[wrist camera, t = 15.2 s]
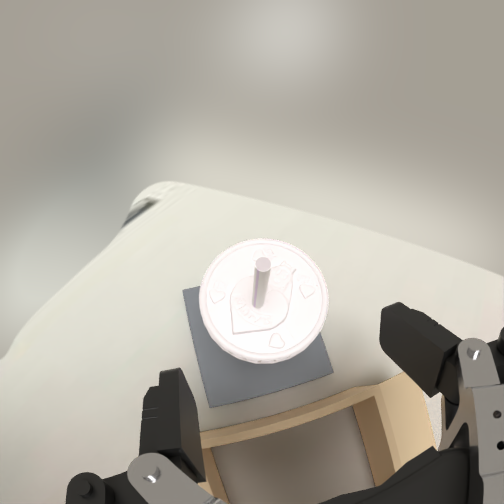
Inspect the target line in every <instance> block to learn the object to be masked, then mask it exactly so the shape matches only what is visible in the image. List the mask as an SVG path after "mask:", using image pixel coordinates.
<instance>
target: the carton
mask: <svg viewBox="0 0 504 504" xmlns="http://www.w3.org/2000/svg"><path fill="white" fill-rule="evenodd" d="M351 405H352V406H353V409H354V412H355V415H356V419H357V422H358V425H359V429H360V432H361V436H362V439H363V443H364V446H365V450H366V453H367V457H368V460H369V464H370V468H371V471H372V475H373V479H374V483H375V487H377V486H380V485H381V484H383V483H384V482H385V481H386V480H387V479H389V478H390V477H391V476H392V475H393V474H394V473H395V472H397V471H398V470H399V469H400V468H401V467H402V466H403V465H404V464H405V463H406V462H408V461H409V460H411V459H413V458H414V457H416V456H418V455H419V454H421V453H422V452H424V451H425V450H427V449H428V448H430V447H431V446H433V447H434V448H435V449H436V444H435V439H434V435H433V431H432V426H431V422H430V418H429V414H428V411H427V407H426V403H425V400H424V396H423V393H422V389H421V388H420V387H419V386H418V385H417V384H416V383H415V382H414V381H413V380H412V379H411V378H410V377H409V376H408V375H407V374H406V373H405V372H402V373H400V374H398V375H396V376H394V377H392V378H390V379H388V380H386V381H384V382H381V383H379V384H377V385H369V386H359V387H353V388H350V389H348V390H345V391H343V392H340V393H338V394H335V395H333V396H330V397H327V398H325V399H322V400H319V401H316V402H313V403H311V404H308V405H305V406H302V407H299V408H296V409H292V410H289V411H286V412H283V413H279V414H276V415H272V416H269V417H265V418H262V419H258V420H254V421H250V422H246V423H242V424H238V425H233V426H229V427H224V428H219V429H214V430H209V431H204V432H200V439H201V446H202V454H203V461H204V468H205V474H206V481H207V482H202V483H198V485H199V486H200V487H201V488H203V489H204V490H205V491H207V492H208V493H209V494H211V495H212V496H214V497H215V498H219V499H221V500H222V501H224V502H225V503H227V504H230V503H229V500H228V497H227V495H226V492H225V489H224V487H223V484H222V481H221V478H220V475H219V472H218V469H217V466H216V463H215V460H214V457H213V454H212V451H211V448H210V447H216V446H221V445H226V444H231V443H235V442H240V441H244V440H248V439H252V438H256V437H260V436H264V435H268V434H271V433H275V432H278V431H282V430H285V429H288V428H292V427H295V426H298V425H301V424H304V423H307V422H310V421H313V420H315V419H318V418H321V417H324V416H326V415H329V414H332V413H334V412H337V411H339V410H342V409H344V408H347V407H349V406H351ZM436 450H437V449H436Z"/></svg>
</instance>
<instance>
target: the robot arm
mask: <svg viewBox="0 0 504 504" xmlns="http://www.w3.org/2000/svg"><path fill="white" fill-rule="evenodd" d="M379 340H380V345H381V348H382V349H383V351H384V352H385V353H386V354H387V355H388V356H389V357H390V358H391V359H392V360H393V361H394V362H395V363H396V364H397V365H398V366H399V367H400V368H401V369H402V370H403V371H404V372H405V373H406V374H407V375H408V376H409V377H410V378H411V379H412V380H413V381H414V382H415V383H416V384H417V385H418V386H419V387H420V388H421V389H422V390H423V391H424V392H425V393H426V394H427V395H428V396H429V397H430V398H431V397H433V396H434V395H436V394H437V393H439V392H441V393H442V394H443V395H442V398H441V416H442V436H441V442H440V445H439V448H438V451H437V450H436V449H435V448H434V447H433V446H431V447H430V448H428V449H427V450H425V451H424V452H422V453H421V454H419V455H418V456H416V457H414V458H413V459H411V460H409V461H408V462H406V463H405V464H404V465H403V466H402V467H401V468H400V469H399V470H398V471H397V472H395V473H394V474H393V475H392V476H391V477H390V478H389V479H387V480H386V481H385V482H384V483H383V484H381V485H380V486H377V487H374V488H370V489H366V490H362V491H358V492H353V493H348V494H343V495H340V496H338V497H335V498H332V499H330V500H327V501H325V502H322V503H319V504H504V328H502V330H501V332H500V335H499V338H498V340H495V341H492V342H489V343H485V342H484V341H482V340H480V339H477V338H468V339H465V340H461V339H460V338H459V337H457V336H456V335H454V334H453V333H452V332H450V331H449V330H447V329H446V328H445V327H443V326H442V325H440V324H438V323H437V322H436V321H435V320H432V319H431V318H430V317H429V316H427V315H426V314H424V313H423V312H420V311H417V310H414V309H410V308H408V307H407V306H405V305H404V304H403V303H401V302H397V303H394V304H392V305H389V306H387V307H384V308H383V309H382V311H381V323H380V337H379ZM202 482H207V481H206V474H205V468H204V461H203V454H202V446H201V439H200V430H199V422H198V413H197V407H196V403H195V400H194V397H193V394H192V392H191V390H190V388H189V385H188V383H187V381H186V379H185V376H184V374H183V372H182V370H181V368H176V369H171V370H165V371H161V372H160V376H159V386H154V387H150V388H149V390H148V391H147V393H146V395H145V396H144V400H143V411H142V421H141V433H140V448H139V456H138V457H137V458H135V459H134V460H133V461H132V462H131V464H130V465H129V467H128V471H126V472H124V473H121V474H118V475H115V476H112V477H109V478H105V479H101V478H100V477H99V476H97V475H96V474H94V473H89V472H85V473H80V474H78V475H76V476H75V477H73V478H72V479H71V481H70V482H69V484H68V487H67V495H66V504H227V503H225V502H224V501H222V500H221V499H219V498H215V497H214V496H212V495H211V494H209V493H208V492H207V491H205V490H204V489H203V488H201V487H200V486H199V485H198V483H202Z"/></svg>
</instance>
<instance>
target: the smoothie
mask: <svg viewBox="0 0 504 504" xmlns="http://www.w3.org/2000/svg"><path fill="white" fill-rule="evenodd" d="M199 305H200V311H201V315H202V318H203V323H204V325H205V327H206V329H207V331H208V332H209V334H210V336H211V338H212V339H213V340H214V341H215V342H216V343H217V344H218V345H219V346H220V347H221V348H222V349H223V350H224V351H226V352H227V353H229V354H231V355H232V356H234V357H236V358H237V359H240V360H244V361H247V362H251V363H255V364H273V363H277V362H280V361H284V360H288V359H290V358H292V357H294V356H295V355H297V354H299V353H300V352H302V351H304V350H305V349H306V348H307V347H308V346H309V345H310V344H311V343H312V341H313V340H314V339H315V338H316V336H317V335H318V334H319V332H320V331H321V329H322V327H323V325H324V323H325V320H326V317H327V313H328V307H329V295H328V288H327V284H326V281H325V279H324V276H323V274H322V272H321V271H320V269H319V267H318V266H317V265H316V263H315V262H314V261H313V260H312V259H311V258H310V257H309V256H308V255H307V254H306V253H304V252H303V251H302V250H300V249H299V248H297V247H295V246H293V245H291V244H289V243H286V242H283V241H280V240H275V239H266V238H260V239H251V240H246V241H243V242H239V243H237V244H235V245H233V246H231V247H229V248H227V249H226V250H224V251H223V252H222V253H220V254H219V255H218V256H217V257H216V258H215V259H214V260H213V262H212V263H211V264H210V266H209V267H208V269H207V270H206V272H205V274H204V276H203V279H202V282H201V286H200V292H199Z"/></svg>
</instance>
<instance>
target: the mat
mask: <svg viewBox="0 0 504 504" xmlns="http://www.w3.org/2000/svg"><path fill="white" fill-rule="evenodd" d="M199 292H200V286H198V287H194V288H189V289H185V290H183V296H184V301H185V306H186V311H187V316H188V320H189V325H190V330H191V334H192V339H193V343H194V348H195V352H196V356H197V360H198V365H199V369H200V373H201V377H202V381H203V384H204V388H205V392H206V396H207V399H208V403H209V407H210V408H212V407H217V406H222V405H226V404H230V403H235V402H239V401H243V400H247V399H251V398H255V397H259V396H262V395H266V394H269V393H273V392H276V391H280V390H283V389H286V388H290V387H293V386H296V385H299V384H302V383H305V382H308V381H311V380H314V379H317V378H320V377H323V376H326V375H328V374H331V373H334V372H333V369H332V366H331V363H330V360H329V357H328V354H327V351H326V348H325V345H324V342H323V339H322V336H321V333H320V332H319V334H318V335H317V336H316V338H315V339H314V340H313V341H312V343H311V344H310V345H309V346H308V347H307V348H306V349H305V350H304V351H302V352H300V353H299V354H297V355H295V356H294V357H292V358H290V359H288V360H284V361H280V362H277V363H273V364H255V363H251V362H247V361H244V360H240V359H237V358H236V357H234V356H232V355H231V354H229V353H227V352H226V351H224V350H223V349H222V348H221V347H220V346H219V345H218V344H217V343H216V342H215V341H214V340H213V339H212V338H211V336H210V334H209V332H208V331H207V329H206V327H205V325H204V323H203V318H202V315H201V311H200V305H199Z"/></svg>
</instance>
